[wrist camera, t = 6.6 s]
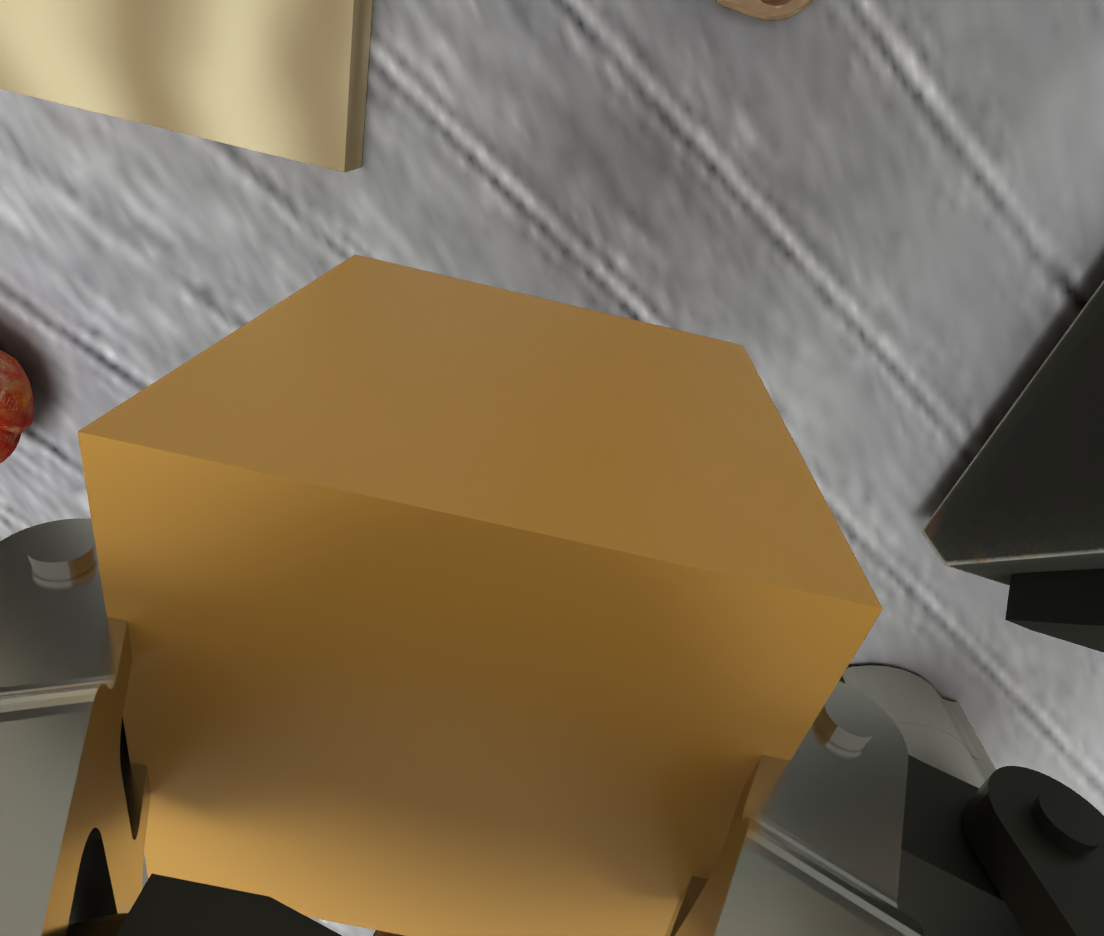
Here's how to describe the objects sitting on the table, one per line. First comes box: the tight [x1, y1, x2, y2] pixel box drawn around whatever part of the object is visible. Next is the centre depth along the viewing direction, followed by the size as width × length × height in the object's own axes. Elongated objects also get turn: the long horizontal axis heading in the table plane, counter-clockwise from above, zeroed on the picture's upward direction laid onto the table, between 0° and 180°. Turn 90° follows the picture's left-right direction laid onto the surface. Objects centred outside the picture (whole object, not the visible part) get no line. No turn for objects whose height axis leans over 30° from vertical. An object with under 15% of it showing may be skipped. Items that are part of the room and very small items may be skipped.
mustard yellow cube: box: [78, 255, 883, 936], centre depth 9 cm, size 6×6×6 cm
